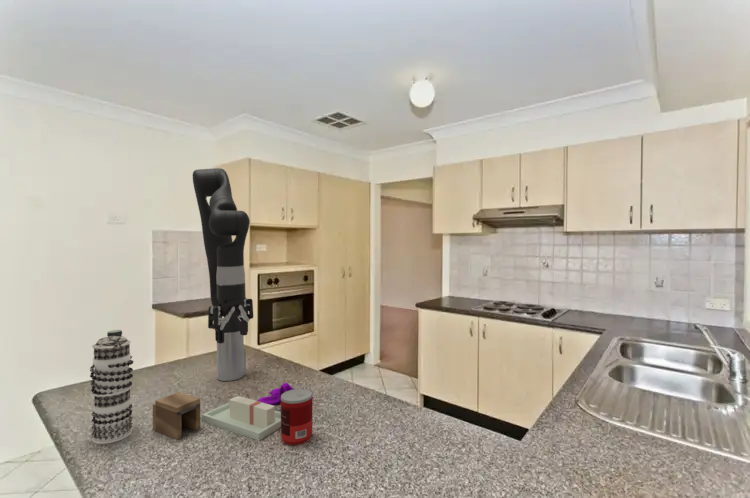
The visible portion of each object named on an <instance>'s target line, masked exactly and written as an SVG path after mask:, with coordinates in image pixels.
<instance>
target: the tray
mask: <svg viewBox="0 0 750 498" xmlns="http://www.w3.org/2000/svg"><path fill="white" fill-rule="evenodd" d="M201 422H202V423H206V424H209V425H212V426H214V427H217V428H221V429H224V430H226V431H230V432H233V433H235V434H237V435H241V436H243V437H247V438H249V439H253V440H255V441H259V442H260V441H261V440H262V439H264V438H266V437H268V436H269V435H271V434H273V433H274V432H275V431H278V430H279V429H281V411H277V410H275V422H274V423H273V424H271V425H269V426H267V427H266V428H261V427H258V426H255V425H251V424H249V423H245V422H242V421H239V420H236V419H233V418H230V401H229V402H226V403H224V404H223V405H219V406H218V407H216V408H214V409H211V410H210V411H206V412H205V413H202V414H201Z"/></svg>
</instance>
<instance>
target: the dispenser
mask: <svg viewBox="0 0 750 498" xmlns="http://www.w3.org/2000/svg"><path fill="white" fill-rule="evenodd" d="M154 401H155V402H154V403H153V404H152V430H153V431H154V432H158V433H160V434H162V435H165V436H167V437H170V438H172V439H174V440H180V439H181V438H183V437H182V430H183V429H182V426H184V427H186V428H189V429H192V430H194V431H198V430H200V429H201V398H200V397H197V396H194V395H189V394H186V393H184V392H180V391H177V392H175V393H173V394H170V395H167V396H165V397H161V398H159V399H156V400H154Z"/></svg>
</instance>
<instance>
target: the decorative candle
mask: <svg viewBox="0 0 750 498" xmlns="http://www.w3.org/2000/svg"><path fill="white" fill-rule="evenodd" d="M131 343H132V342H131V340H128V339H127V337H125V336H123V335H122V336H110V337H108V336H104V337H102V338H99V339H98V340H97V341H96V343H95V344H93V345H91V346H92V348H93V358H92V365H91V366H90V367H89V371H90V375H89V377H90V378H91V381H90V386H91V389H90V392H91V395H92V396H93V402H94V403H93V406H92V407H93V409H92V410H93V411H92V412H91V416H92V419H91V422H92V423H93V424H92V426H91V430H92V432H91V436H92V440H91V441H92V442H93V443H94V444H97V445H107V444H111V443H116V442H119V441H121V440H124V439H126V438H128V437H129V436H130V435H131V434H132V432H133V416H131V415H133V410H132V408H133V404H132V403H131V402H132V398H131V389H132V387H133V381H130V379H132V378H133V376H134V375H133V373H132V372H133V370H134V369H133V368H132V367H131V365H133V364H134V360H132V358H133V356H132V355H131V353H130V351H131V350H130V349H131V348H130V347H131V346H130V344H131Z"/></svg>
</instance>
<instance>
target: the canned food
mask: <svg viewBox="0 0 750 498" xmlns="http://www.w3.org/2000/svg"><path fill="white" fill-rule="evenodd" d="M312 396H313V392H312V391H311V390H309V389H306V388H293V390H289V391H287V392H284V393H283V394H282V395H281V405H280V412H281V428H280V438H281V441H282V442H283V443H284V444H286V445H289V446H297V445H302V444H304V443H307V442H308V441H309V440H310V439H312V435H313V399H312Z"/></svg>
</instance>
